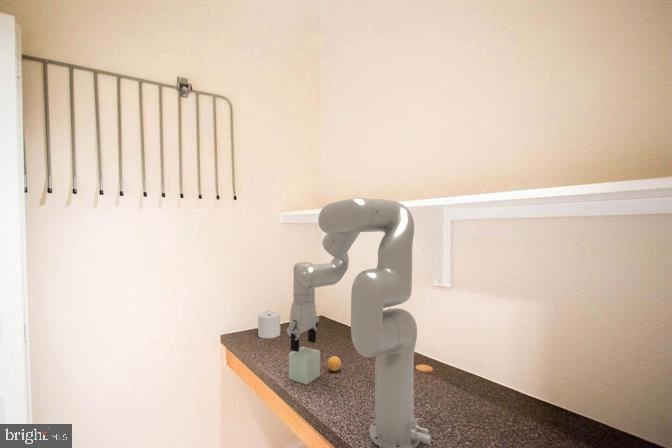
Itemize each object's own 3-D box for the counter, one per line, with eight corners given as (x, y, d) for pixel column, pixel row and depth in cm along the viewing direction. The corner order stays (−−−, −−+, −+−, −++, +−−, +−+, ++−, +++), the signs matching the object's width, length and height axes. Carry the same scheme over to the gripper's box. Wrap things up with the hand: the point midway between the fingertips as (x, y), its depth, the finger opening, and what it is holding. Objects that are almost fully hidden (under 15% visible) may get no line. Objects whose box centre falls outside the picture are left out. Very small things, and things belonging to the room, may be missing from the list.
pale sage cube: (320, 375, 115) (320, 350, 115) (306, 384, 109) (306, 358, 109) (302, 370, 119) (302, 346, 120) (288, 378, 113) (288, 353, 113)
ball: (343, 369, 120) (343, 355, 120) (336, 374, 116) (336, 360, 116) (332, 366, 123) (332, 353, 123) (324, 371, 119) (324, 357, 119)
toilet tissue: (265, 340, 152) (264, 318, 152) (252, 334, 161) (252, 314, 161) (284, 335, 159) (284, 314, 159) (271, 329, 168) (271, 310, 168)
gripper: (310, 292, 124) (309, 336, 124) (279, 301, 109) (279, 352, 109) (326, 294, 120) (326, 340, 120) (296, 304, 105) (296, 357, 105)
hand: (303, 346), depth 115 cm, fingers open, 9 cm apart
